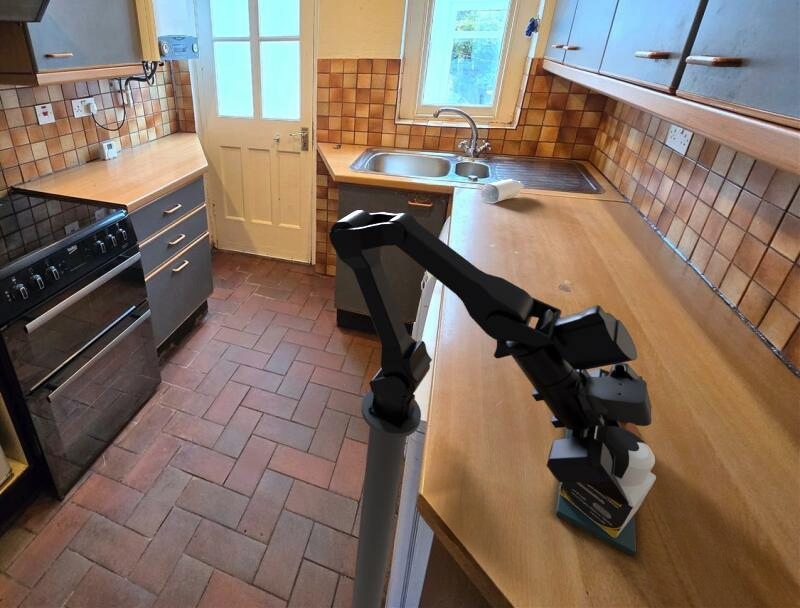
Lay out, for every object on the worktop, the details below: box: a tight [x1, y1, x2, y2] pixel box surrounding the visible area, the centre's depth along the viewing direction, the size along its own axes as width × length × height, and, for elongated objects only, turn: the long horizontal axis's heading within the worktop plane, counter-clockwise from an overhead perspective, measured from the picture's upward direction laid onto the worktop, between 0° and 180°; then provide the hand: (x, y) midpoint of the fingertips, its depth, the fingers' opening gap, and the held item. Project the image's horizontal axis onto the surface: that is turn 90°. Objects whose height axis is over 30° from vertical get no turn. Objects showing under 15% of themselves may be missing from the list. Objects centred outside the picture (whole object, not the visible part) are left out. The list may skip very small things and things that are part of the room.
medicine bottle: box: [558, 426, 657, 538], centre depth 54 cm, size 7×7×12 cm
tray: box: [555, 427, 637, 557], centre depth 62 cm, size 8×24×1 cm, turn 144°
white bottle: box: [480, 178, 525, 204], centre depth 165 cm, size 8×19×8 cm, turn 117°
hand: (626, 477), depth 53 cm, fingers closed on medicine bottle, 8 cm apart
